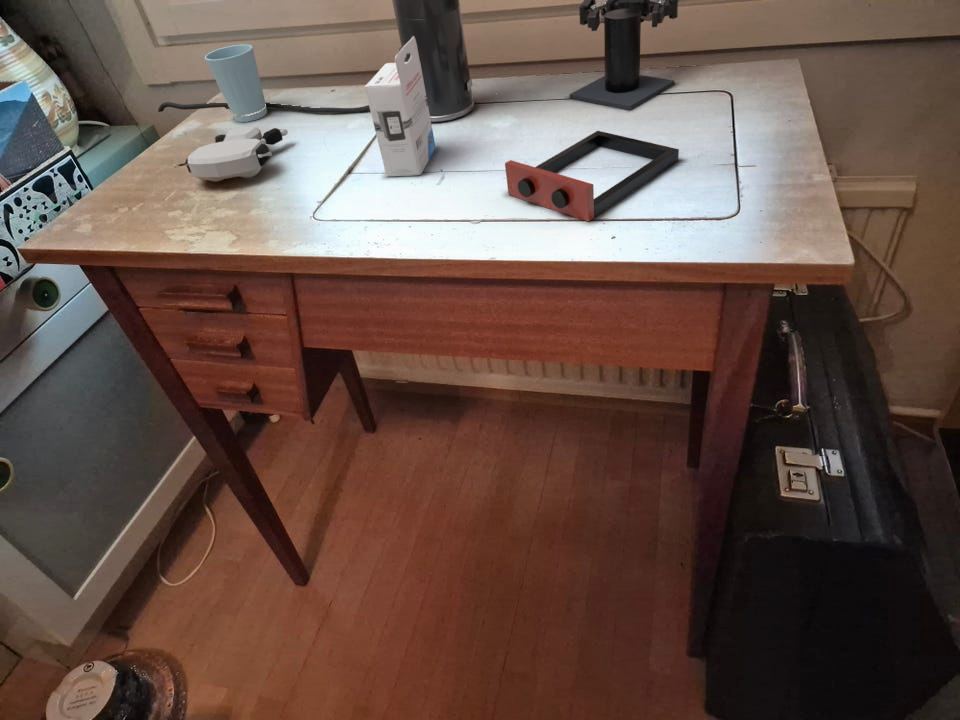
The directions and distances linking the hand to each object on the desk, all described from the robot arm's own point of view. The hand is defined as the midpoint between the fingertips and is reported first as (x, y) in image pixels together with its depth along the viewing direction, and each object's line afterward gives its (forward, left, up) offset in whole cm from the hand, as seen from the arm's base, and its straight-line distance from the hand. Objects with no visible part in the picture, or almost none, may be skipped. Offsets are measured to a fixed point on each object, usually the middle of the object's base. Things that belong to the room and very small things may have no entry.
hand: (623, 21), depth 93 cm
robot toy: (-31, -49, -9) cm, 58 cm away
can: (+1, -1, -8) cm, 9 cm away
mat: (+1, -2, -9) cm, 9 cm away
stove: (+15, -26, -9) cm, 31 cm away
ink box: (-9, -35, -9) cm, 37 cm away
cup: (-50, -37, -9) cm, 63 cm away
